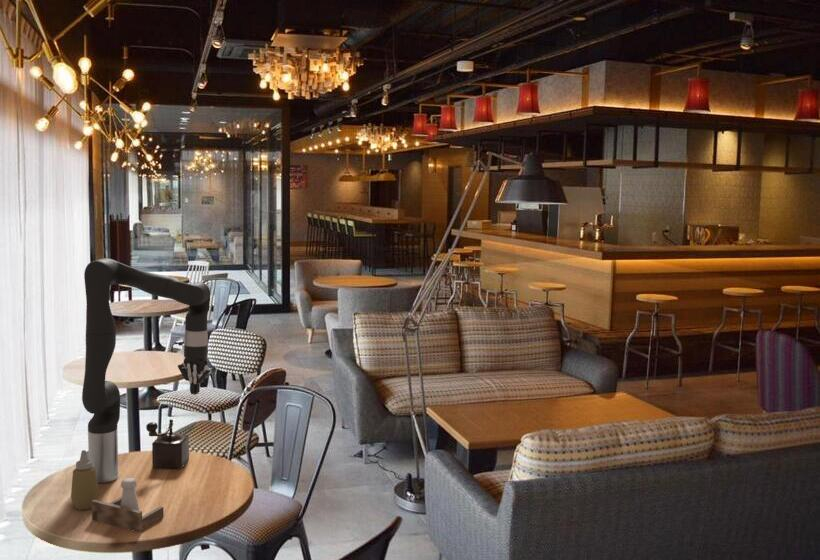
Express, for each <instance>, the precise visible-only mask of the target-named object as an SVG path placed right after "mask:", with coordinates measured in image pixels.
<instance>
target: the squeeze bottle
mask: <svg viewBox="0 0 820 560" xmlns="http://www.w3.org/2000/svg"><path fill="white" fill-rule="evenodd" d="M86 452H87V451H86V450H85V449H83V450H81V453H80V457H79V460H78V461H76V462H75V469H73V470H72V479H71V480H72V481H71V489H70V490H71V491H70V492H71V493H70V499H71V501H72V504H73V506H74V508H75V509H76V510H80V511H84V510H89V509H92V501H93V500H98V499H99V494H100V493H99V485H98V484H99V483H97V477H96V470H95V468H94V467H92V461H91V460H88V457H87V453H86Z"/></svg>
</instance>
